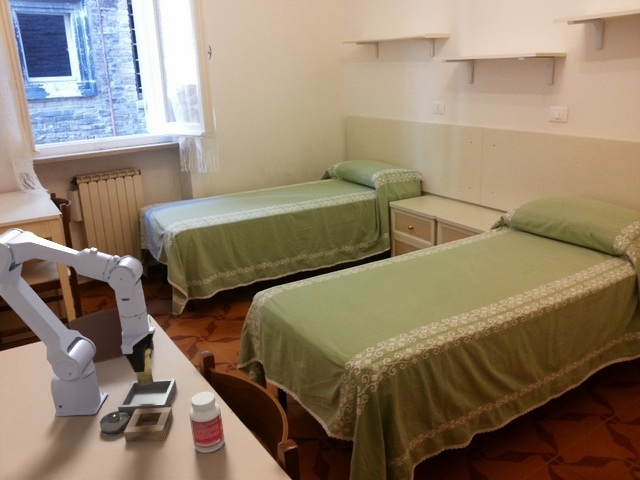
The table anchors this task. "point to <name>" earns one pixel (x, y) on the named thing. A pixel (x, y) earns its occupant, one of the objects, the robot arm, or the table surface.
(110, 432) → the pulley
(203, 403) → the pill bottle
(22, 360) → the table surface
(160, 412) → the block
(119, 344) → the letter holder
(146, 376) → the lock pin
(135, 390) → the tray
